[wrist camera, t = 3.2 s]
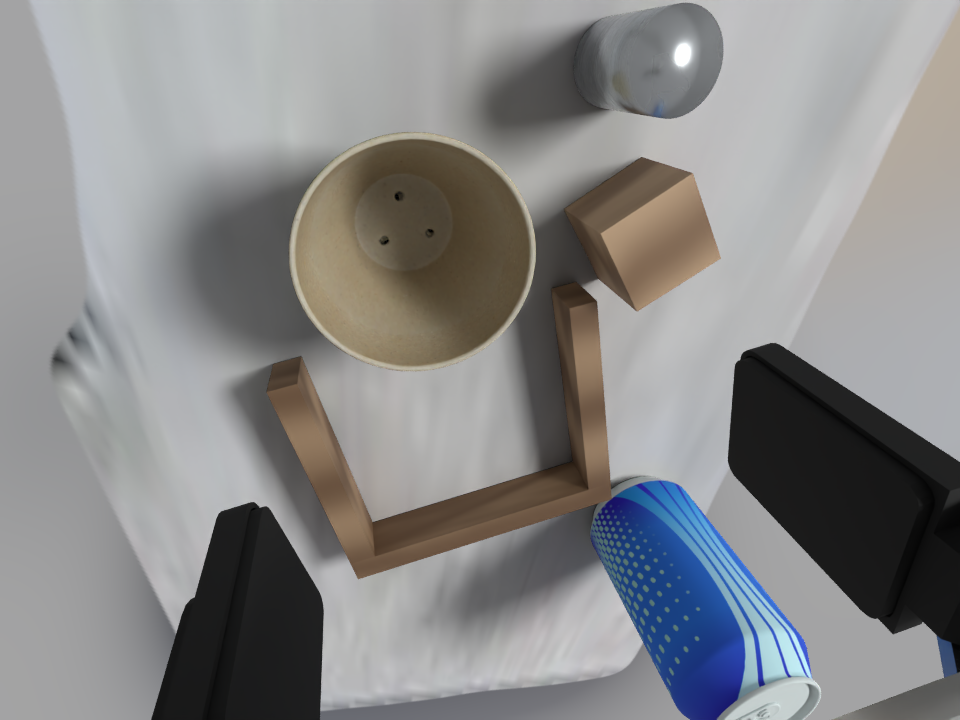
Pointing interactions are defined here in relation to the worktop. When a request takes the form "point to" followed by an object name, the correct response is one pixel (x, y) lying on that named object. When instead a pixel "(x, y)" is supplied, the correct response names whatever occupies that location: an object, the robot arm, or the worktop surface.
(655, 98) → the grey metal cylinder
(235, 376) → the worktop surface
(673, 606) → the beer can
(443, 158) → the flower pot
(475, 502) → the bay
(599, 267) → the walnut block
